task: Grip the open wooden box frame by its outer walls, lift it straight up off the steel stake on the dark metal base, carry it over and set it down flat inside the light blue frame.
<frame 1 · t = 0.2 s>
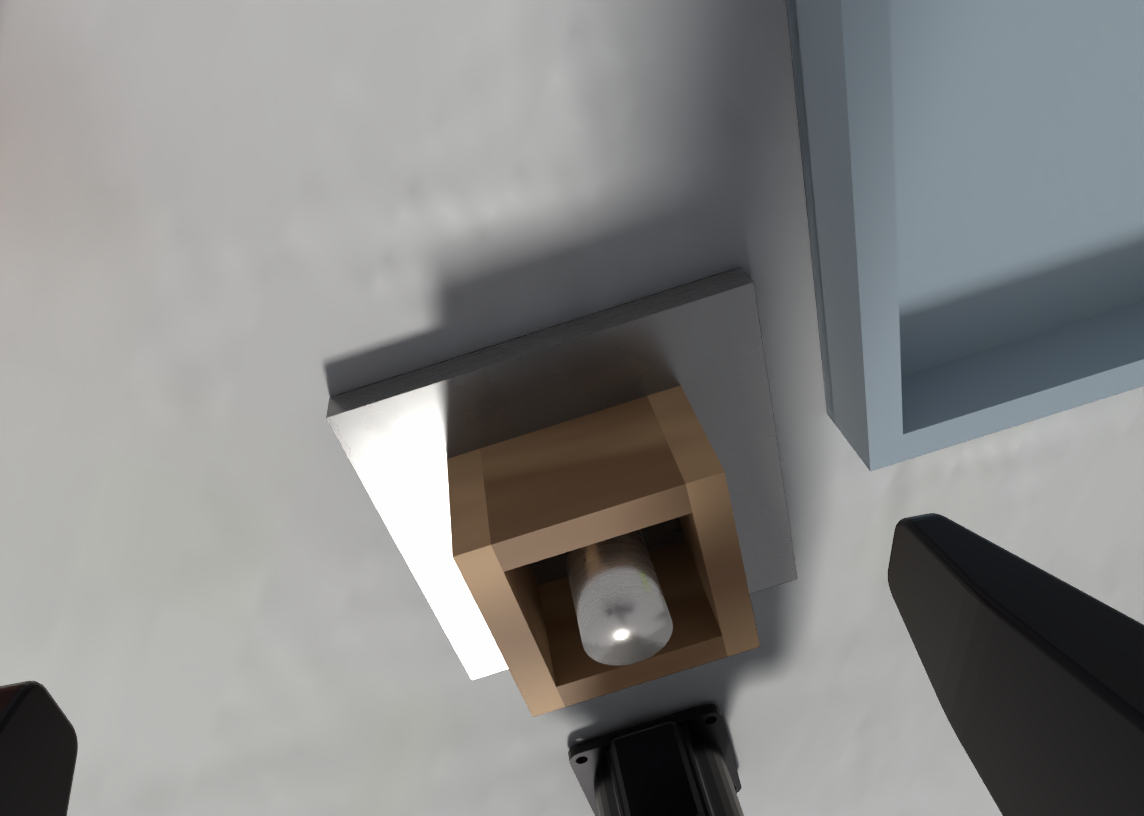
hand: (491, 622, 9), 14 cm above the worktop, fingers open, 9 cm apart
open wooden box frame: (593, 509, 25), point 1 cm above the worktop, touching stake base
stake base: (587, 488, 26), on the worktop
light blue frame: (1098, 83, 21), on the worktop
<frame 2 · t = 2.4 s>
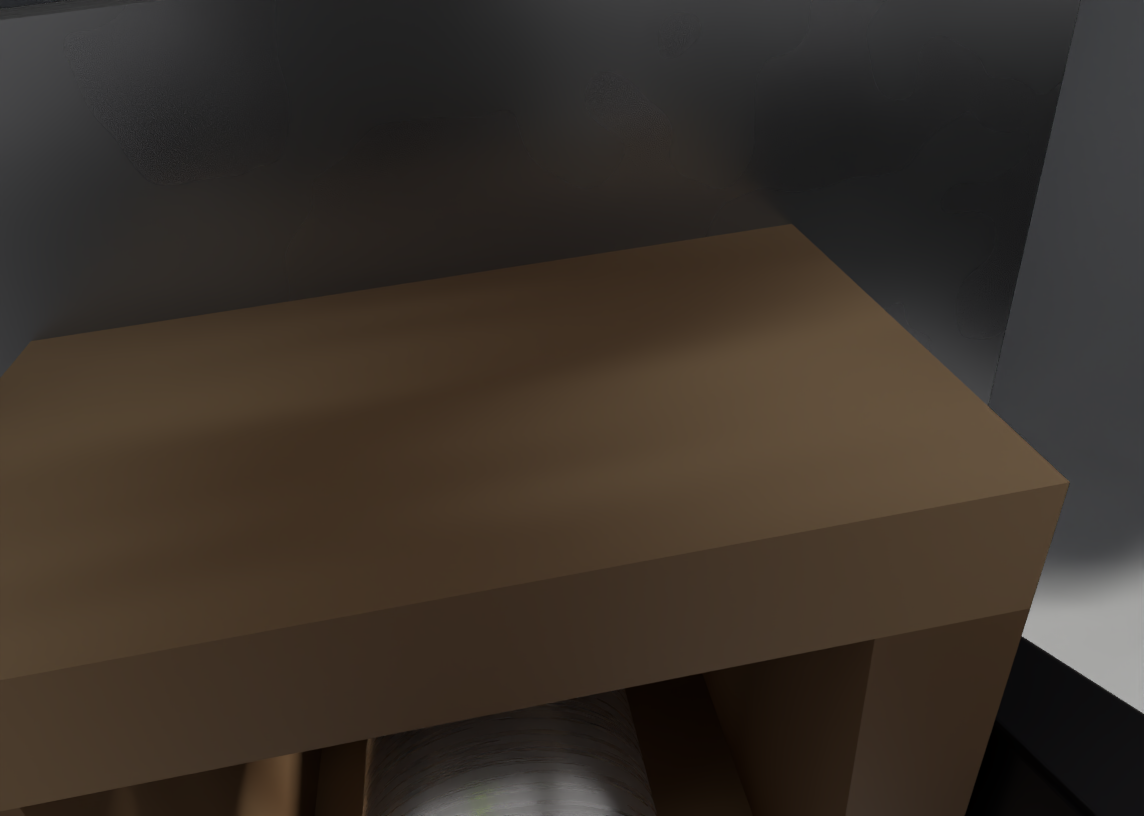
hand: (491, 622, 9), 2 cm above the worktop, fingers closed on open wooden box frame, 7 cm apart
open wooden box frame: (484, 556, 9), point 1 cm above the worktop, touching gripper, stake base
stake base: (478, 501, 10), on the worktop
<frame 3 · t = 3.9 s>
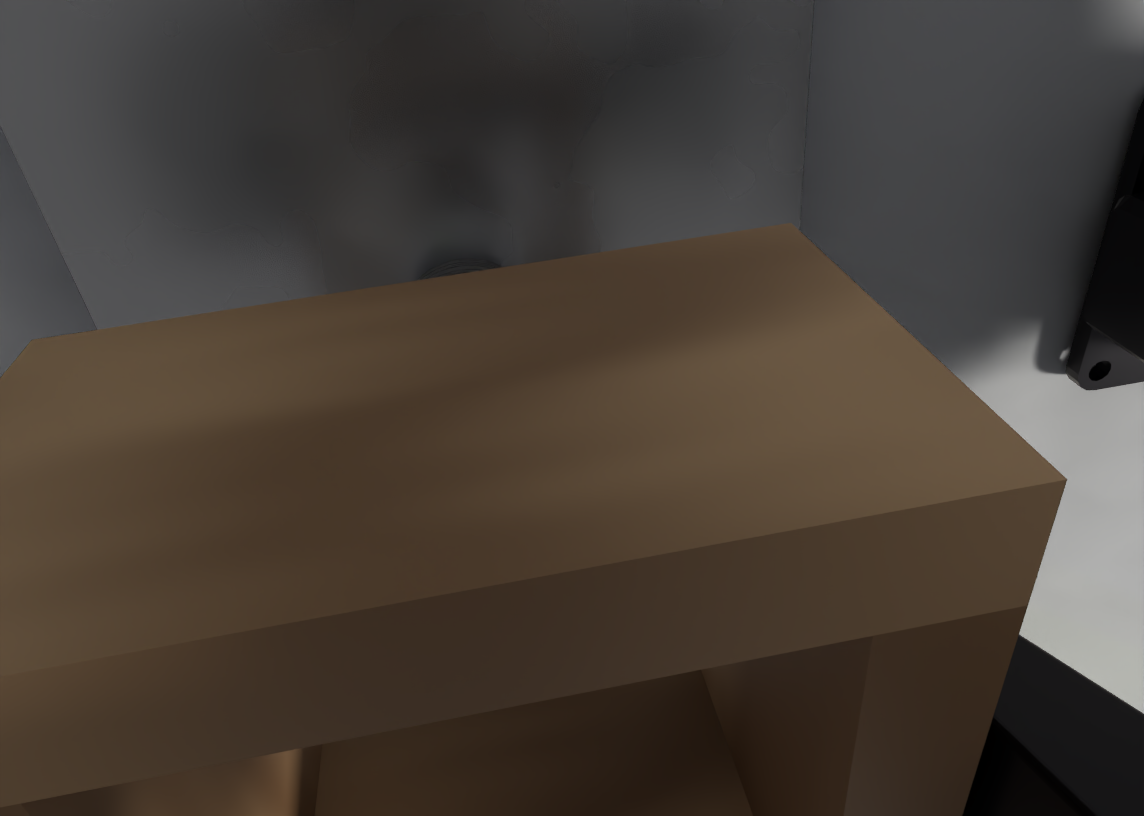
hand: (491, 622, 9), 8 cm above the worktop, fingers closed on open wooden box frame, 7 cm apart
open wooden box frame: (484, 554, 9), point 7 cm above the worktop, touching gripper
stake base: (466, 298, 15), on the worktop
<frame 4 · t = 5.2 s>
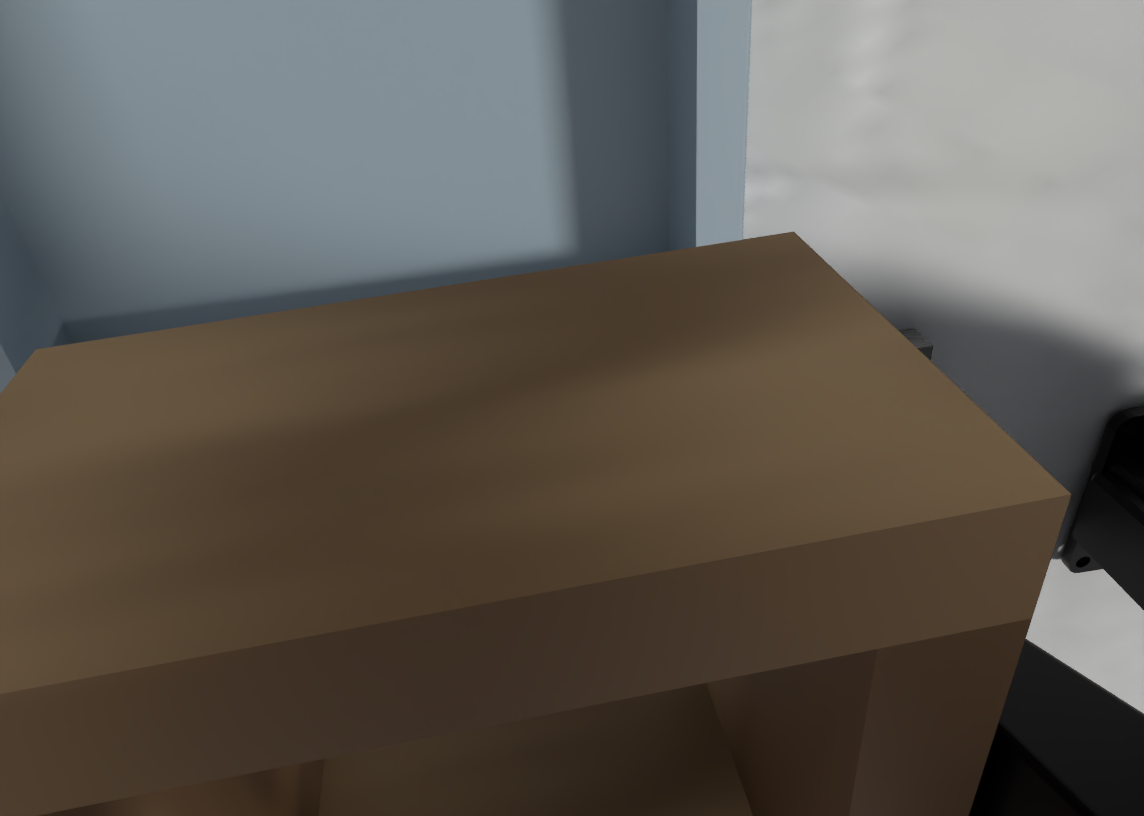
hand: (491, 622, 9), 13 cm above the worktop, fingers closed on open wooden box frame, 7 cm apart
open wooden box frame: (486, 561, 9), point 12 cm above the worktop, touching gripper
stake base: (700, 526, 25), on the worktop
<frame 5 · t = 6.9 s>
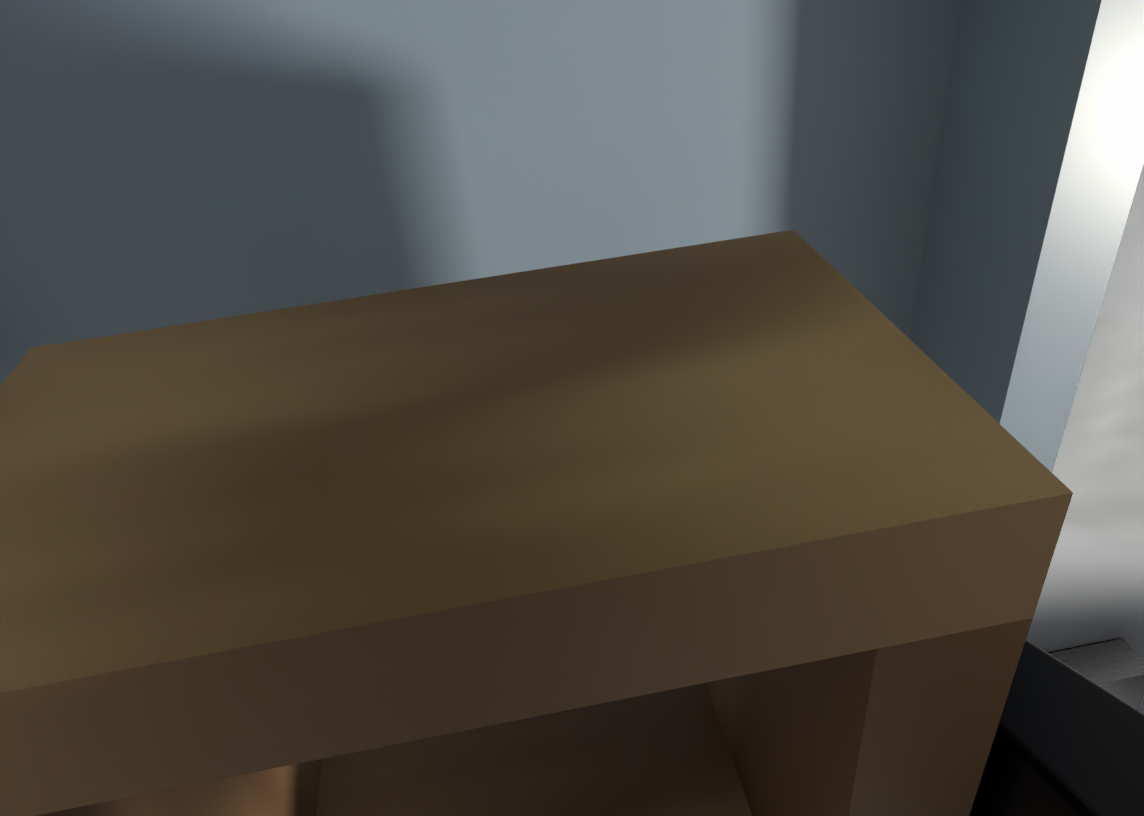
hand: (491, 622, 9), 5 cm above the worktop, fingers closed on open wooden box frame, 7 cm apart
open wooden box frame: (485, 561, 9), point 4 cm above the worktop, touching gripper
light blue frame: (463, 379, 13), on the worktop
when the fingers open (3 cm above the worktop, at t = 8.2 s): open wooden box frame drops 2 cm, resting on light blue frame.
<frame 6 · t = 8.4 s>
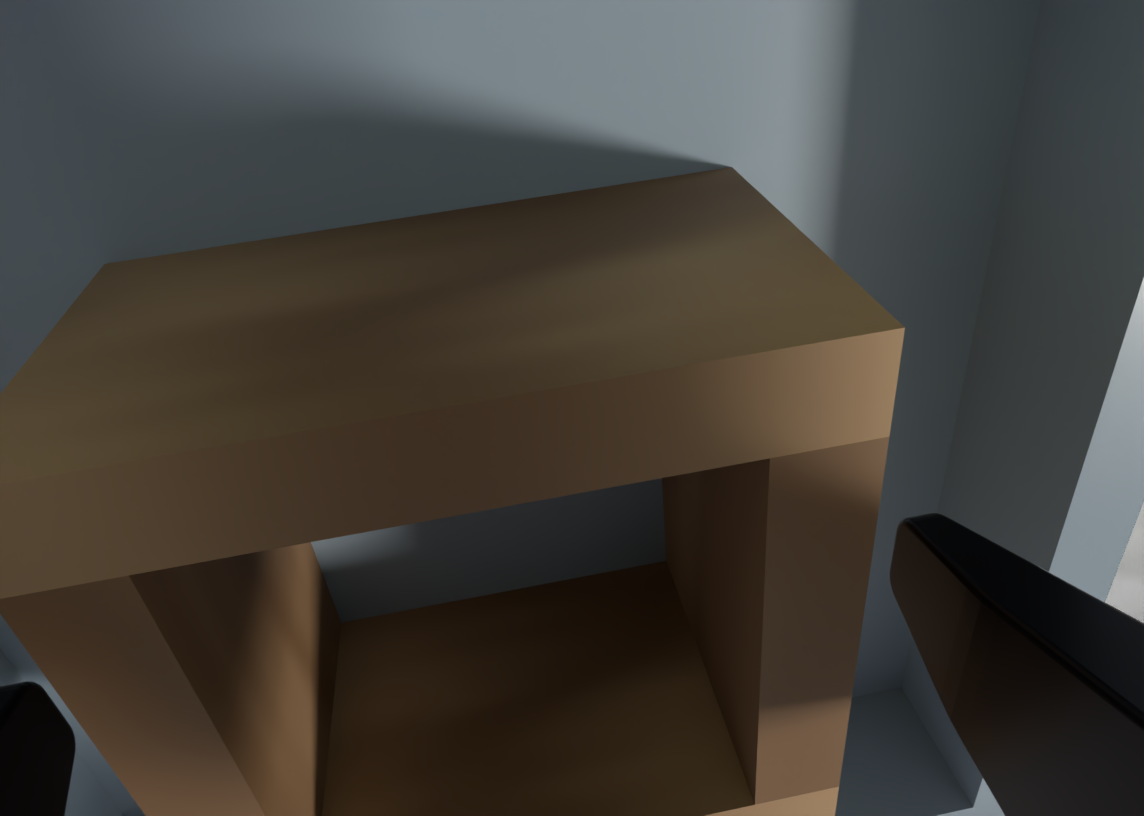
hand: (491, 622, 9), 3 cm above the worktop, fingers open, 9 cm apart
open wooden box frame: (479, 461, 11), point 1 cm above the worktop, touching light blue frame
light blue frame: (470, 433, 11), on the worktop
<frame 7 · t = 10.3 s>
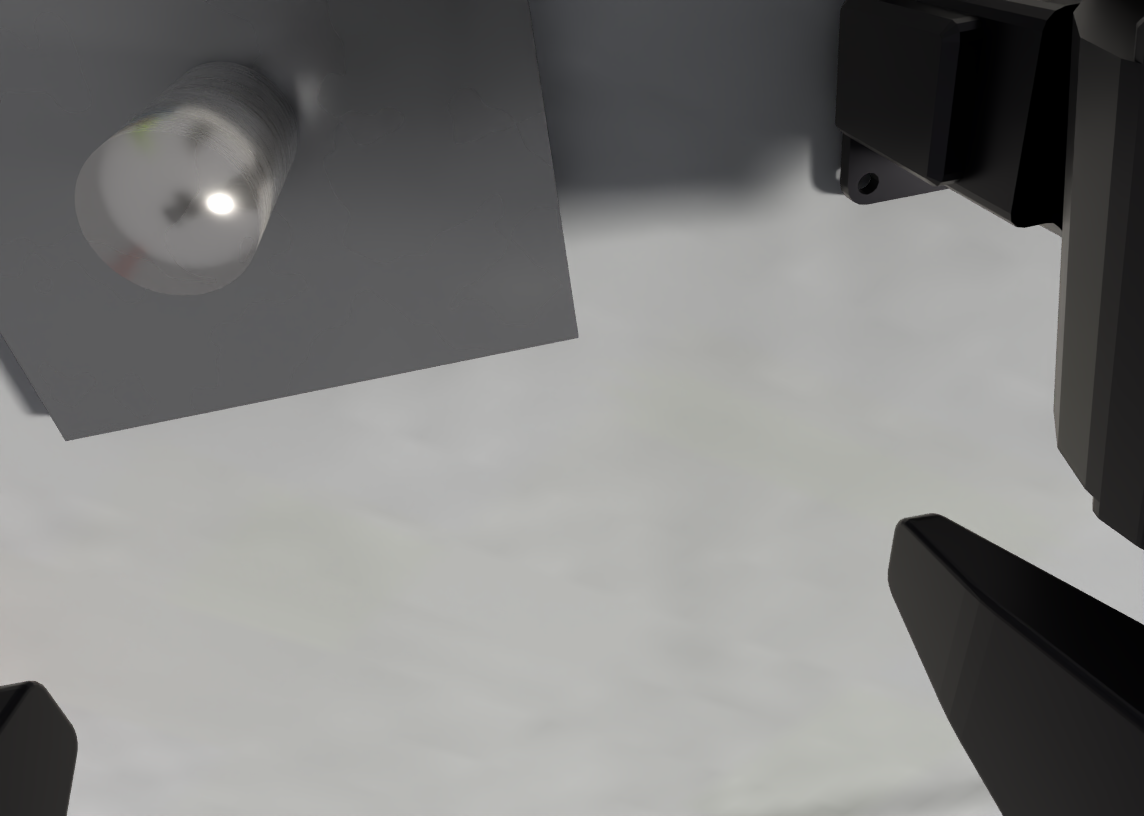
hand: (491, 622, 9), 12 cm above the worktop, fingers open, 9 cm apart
stake base: (241, 115, 17), on the worktop
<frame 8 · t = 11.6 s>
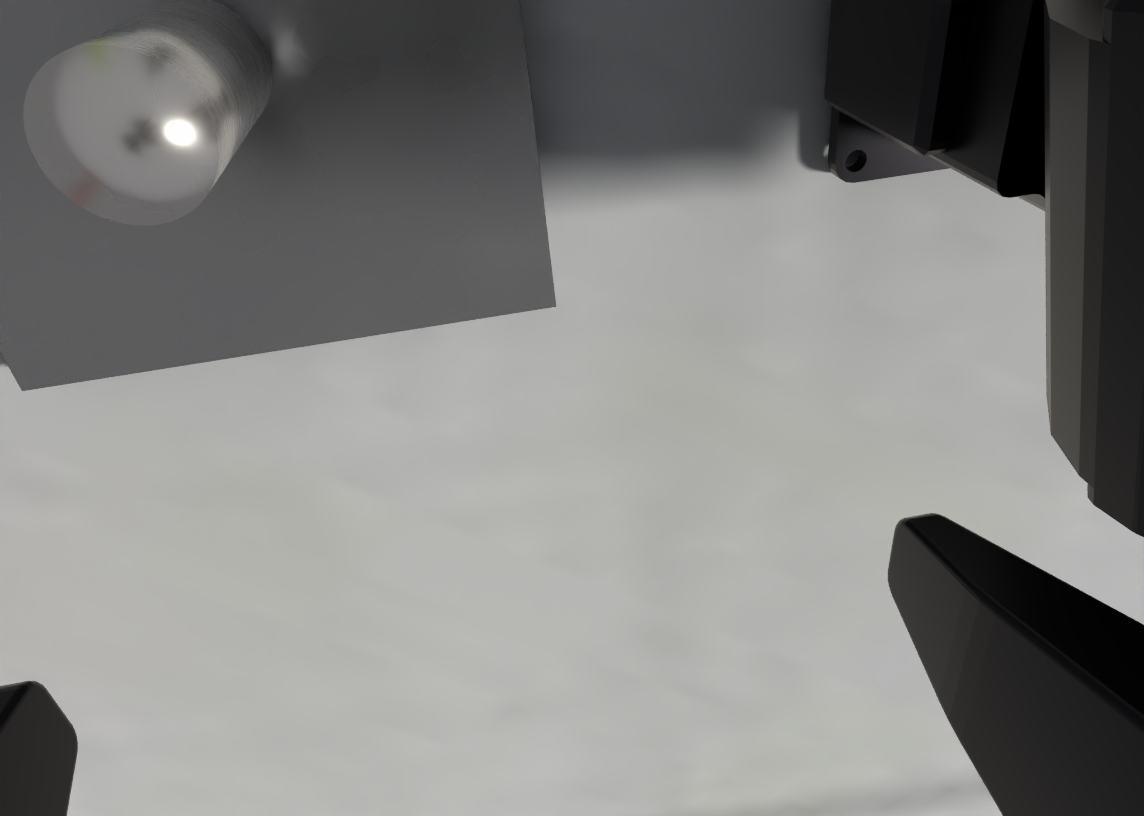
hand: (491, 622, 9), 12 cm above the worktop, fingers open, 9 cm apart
stake base: (215, 58, 16), on the worktop
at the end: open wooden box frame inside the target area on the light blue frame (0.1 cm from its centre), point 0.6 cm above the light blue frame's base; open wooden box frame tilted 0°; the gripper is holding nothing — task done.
